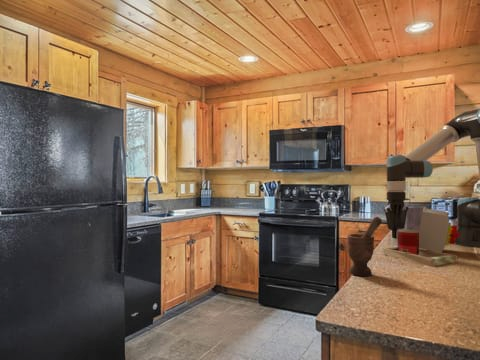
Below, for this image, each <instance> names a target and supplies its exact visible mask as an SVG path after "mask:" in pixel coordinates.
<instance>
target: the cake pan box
mask: <svg viewBox="0 0 480 360" xmlns="http://www.w3.org/2000/svg"><path fill="white" fill-rule="evenodd" d="M407 207H408V208H409V209H408V211H407V215H406V221H405V228H404V229H415V230H420V224H421V217H422V212H423V209H424V207H426V209H428V208H427V206H407Z"/></svg>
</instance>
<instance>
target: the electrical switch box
mask: <svg viewBox="0 0 480 360" xmlns="http://www.w3.org/2000/svg"><path fill="white" fill-rule="evenodd" d="M423 207H424V209H423V212H422V217H421V224H420V230H419V248H421V249H426V250H429V249H430V250H432V251H437V252H442V253H443V251H444V250H445V247H446V246H448V243H449V244H450V245H455V237H456V238H459V233H458V232H456V231H457V228H458V225H455V224H453V225H451V224H452V223H451V222H450V219H449V214H448V213H449V212H447V211H443V210H437V209H432V208H427V209H426V207H427V206H423Z"/></svg>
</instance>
